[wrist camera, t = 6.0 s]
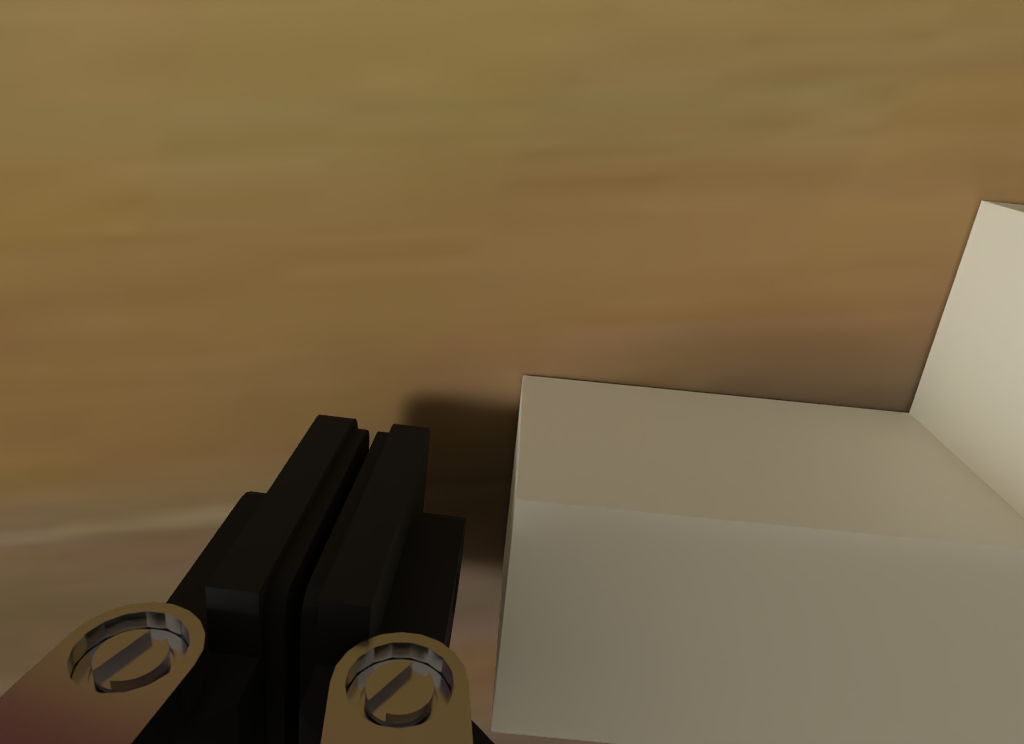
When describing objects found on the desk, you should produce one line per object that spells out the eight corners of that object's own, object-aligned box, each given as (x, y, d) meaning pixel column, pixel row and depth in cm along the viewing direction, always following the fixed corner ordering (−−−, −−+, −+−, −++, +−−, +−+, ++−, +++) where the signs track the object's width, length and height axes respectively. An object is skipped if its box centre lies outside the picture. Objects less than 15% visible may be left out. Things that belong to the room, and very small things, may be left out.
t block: (1234, 226, 10) (1578, 300, 7) (982, 746, 14) (1120, 955, 10) (546, 157, 10) (549, 198, 7) (488, 699, 14) (472, 892, 10)
